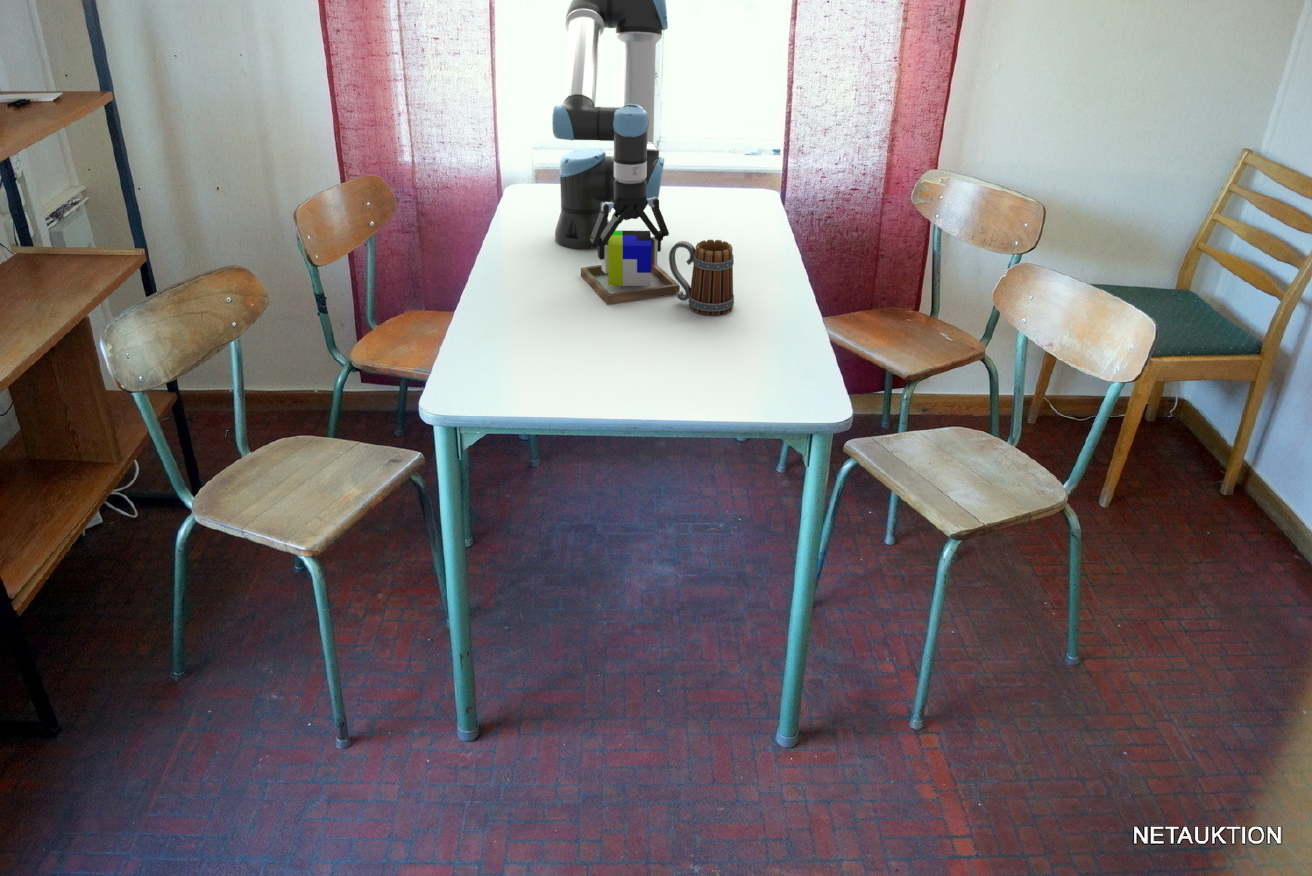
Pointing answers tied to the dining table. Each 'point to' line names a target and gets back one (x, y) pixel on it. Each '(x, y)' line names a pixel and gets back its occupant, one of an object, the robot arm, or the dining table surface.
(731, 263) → the mug
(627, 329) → the dining table surface
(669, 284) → the square wooden frame
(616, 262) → the puzzle toy
